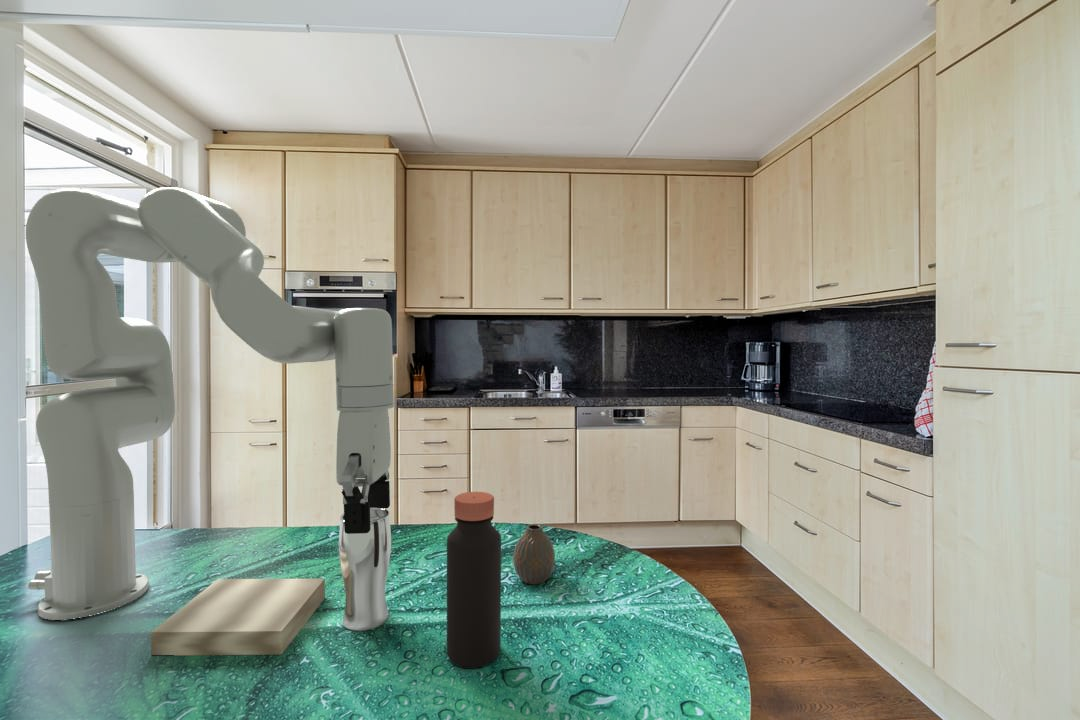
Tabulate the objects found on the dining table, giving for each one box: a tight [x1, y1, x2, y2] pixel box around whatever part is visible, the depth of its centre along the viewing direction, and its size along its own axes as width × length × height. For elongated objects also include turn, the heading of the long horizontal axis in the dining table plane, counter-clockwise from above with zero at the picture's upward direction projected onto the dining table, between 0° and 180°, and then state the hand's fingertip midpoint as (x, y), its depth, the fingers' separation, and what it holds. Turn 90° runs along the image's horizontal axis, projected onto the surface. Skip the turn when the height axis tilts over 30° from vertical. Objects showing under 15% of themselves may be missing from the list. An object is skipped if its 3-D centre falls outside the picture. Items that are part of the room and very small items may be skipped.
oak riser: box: [150, 578, 326, 656], centre depth 71 cm, size 16×14×3 cm
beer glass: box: [338, 507, 392, 632], centre depth 72 cm, size 7×7×15 cm
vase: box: [512, 523, 556, 585], centre depth 85 cm, size 7×7×9 cm
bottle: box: [446, 491, 502, 669], centre depth 65 cm, size 7×7×20 cm
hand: (368, 519), depth 72 cm, fingers open, 9 cm apart
